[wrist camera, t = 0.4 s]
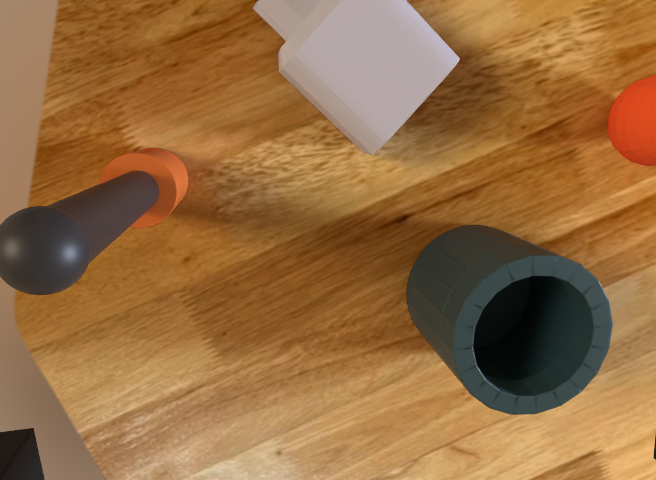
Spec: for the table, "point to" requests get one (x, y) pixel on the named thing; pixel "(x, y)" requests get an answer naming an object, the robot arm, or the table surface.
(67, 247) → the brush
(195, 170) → the table surface
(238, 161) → the table surface
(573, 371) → the dark grey pipe sleeve
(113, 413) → the table surface
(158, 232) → the table surface
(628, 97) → the clementine
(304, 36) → the charger
